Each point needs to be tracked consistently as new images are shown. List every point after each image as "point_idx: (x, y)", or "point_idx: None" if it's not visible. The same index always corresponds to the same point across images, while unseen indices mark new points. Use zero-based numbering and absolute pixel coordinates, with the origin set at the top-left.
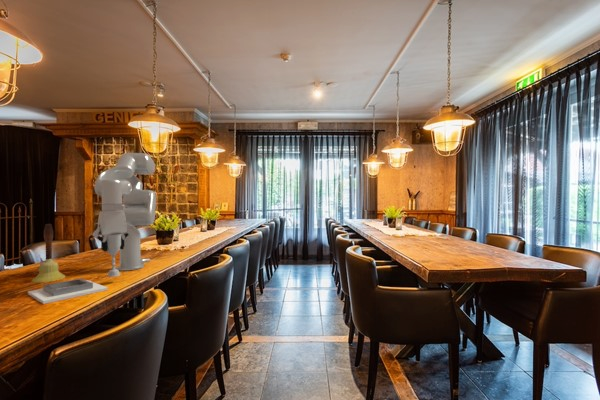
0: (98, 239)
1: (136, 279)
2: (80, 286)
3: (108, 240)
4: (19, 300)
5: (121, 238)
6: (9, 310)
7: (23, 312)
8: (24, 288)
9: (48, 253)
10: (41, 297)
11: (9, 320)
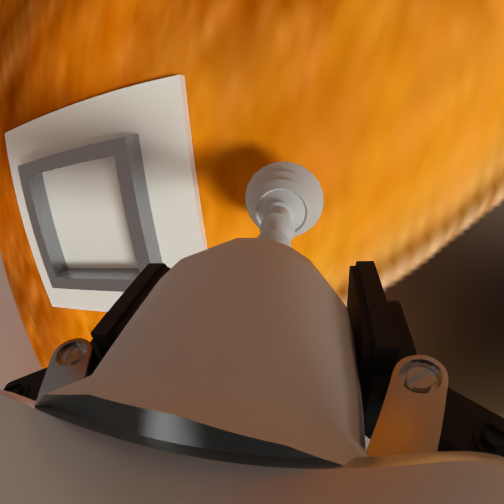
0: (39, 380)
1: (392, 227)
2: (118, 289)
3: (158, 433)
4: (6, 205)
5: (367, 434)
6: (14, 288)
7: (40, 328)
8: (13, 31)
9: None
10: (39, 261)
11: (38, 353)
